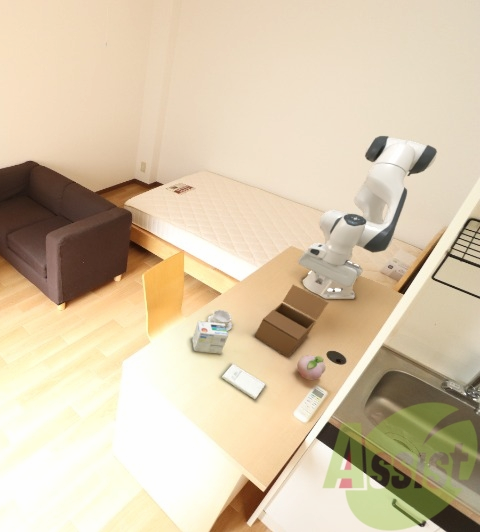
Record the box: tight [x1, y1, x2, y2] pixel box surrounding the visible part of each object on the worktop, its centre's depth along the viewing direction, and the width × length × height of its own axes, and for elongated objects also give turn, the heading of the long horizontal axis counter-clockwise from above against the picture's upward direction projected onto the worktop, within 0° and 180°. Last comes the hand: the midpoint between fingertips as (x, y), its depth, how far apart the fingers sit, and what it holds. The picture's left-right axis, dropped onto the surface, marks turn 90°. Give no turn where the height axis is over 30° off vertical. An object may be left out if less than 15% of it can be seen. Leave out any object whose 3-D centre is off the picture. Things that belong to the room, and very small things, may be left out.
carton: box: [254, 302, 317, 358], centre depth 144 cm, size 17×14×10 cm
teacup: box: [207, 309, 233, 332], centre depth 151 cm, size 10×10×5 cm
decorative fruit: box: [296, 354, 326, 381], centre depth 129 cm, size 9×8×10 cm
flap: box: [282, 284, 329, 321], centre depth 144 cm, size 8×14×1 cm
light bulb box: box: [191, 320, 229, 355], centre depth 138 cm, size 11×7×11 cm, turn 84°
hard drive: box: [221, 363, 266, 400], centre depth 128 cm, size 2×8×12 cm
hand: (318, 282), depth 144 cm, fingers closed
